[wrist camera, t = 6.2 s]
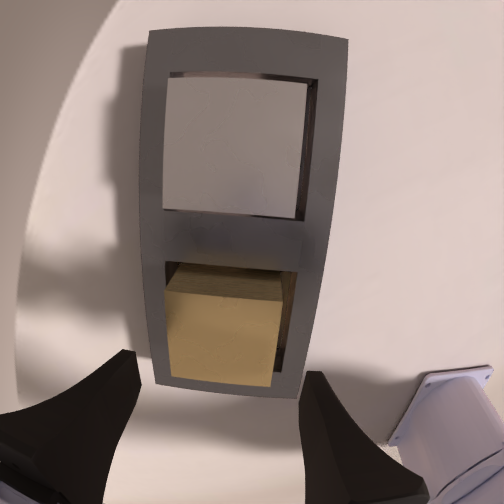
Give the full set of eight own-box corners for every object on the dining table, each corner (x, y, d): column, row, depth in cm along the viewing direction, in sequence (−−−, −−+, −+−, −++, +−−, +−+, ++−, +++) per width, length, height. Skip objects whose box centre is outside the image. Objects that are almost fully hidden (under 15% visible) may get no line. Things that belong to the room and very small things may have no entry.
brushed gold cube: (278, 256, 18) (282, 301, 13) (269, 330, 19) (270, 386, 15) (189, 249, 18) (164, 290, 13) (190, 323, 19) (171, 376, 15)
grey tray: (294, 373, 20) (296, 398, 18) (164, 360, 21) (155, 383, 18) (337, 51, 13) (348, 39, 11) (164, 43, 13) (149, 30, 11)
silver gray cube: (286, 193, 16) (294, 218, 12) (191, 186, 16) (162, 208, 12) (294, 99, 14) (307, 83, 10) (197, 94, 15) (168, 78, 10)
